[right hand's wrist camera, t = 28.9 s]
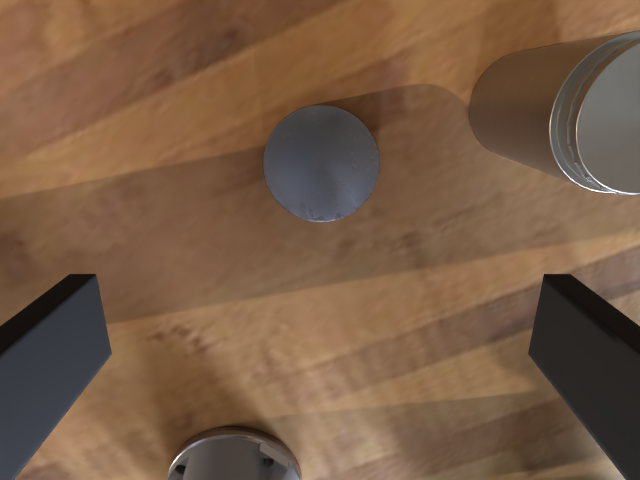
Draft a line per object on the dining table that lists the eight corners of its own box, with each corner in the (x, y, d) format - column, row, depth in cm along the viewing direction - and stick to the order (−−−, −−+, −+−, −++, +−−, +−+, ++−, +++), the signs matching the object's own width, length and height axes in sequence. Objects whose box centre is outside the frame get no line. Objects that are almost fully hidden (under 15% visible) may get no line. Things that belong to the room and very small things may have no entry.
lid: (368, 94, 35) (371, 95, 33) (382, 205, 38) (386, 212, 36) (255, 115, 36) (251, 117, 34) (278, 222, 39) (276, 230, 37)
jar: (453, 140, 36) (539, 175, 22) (494, 36, 34) (624, -1, 19) (542, 168, 37) (681, 219, 23) (589, 69, 35) (781, 57, 20)
